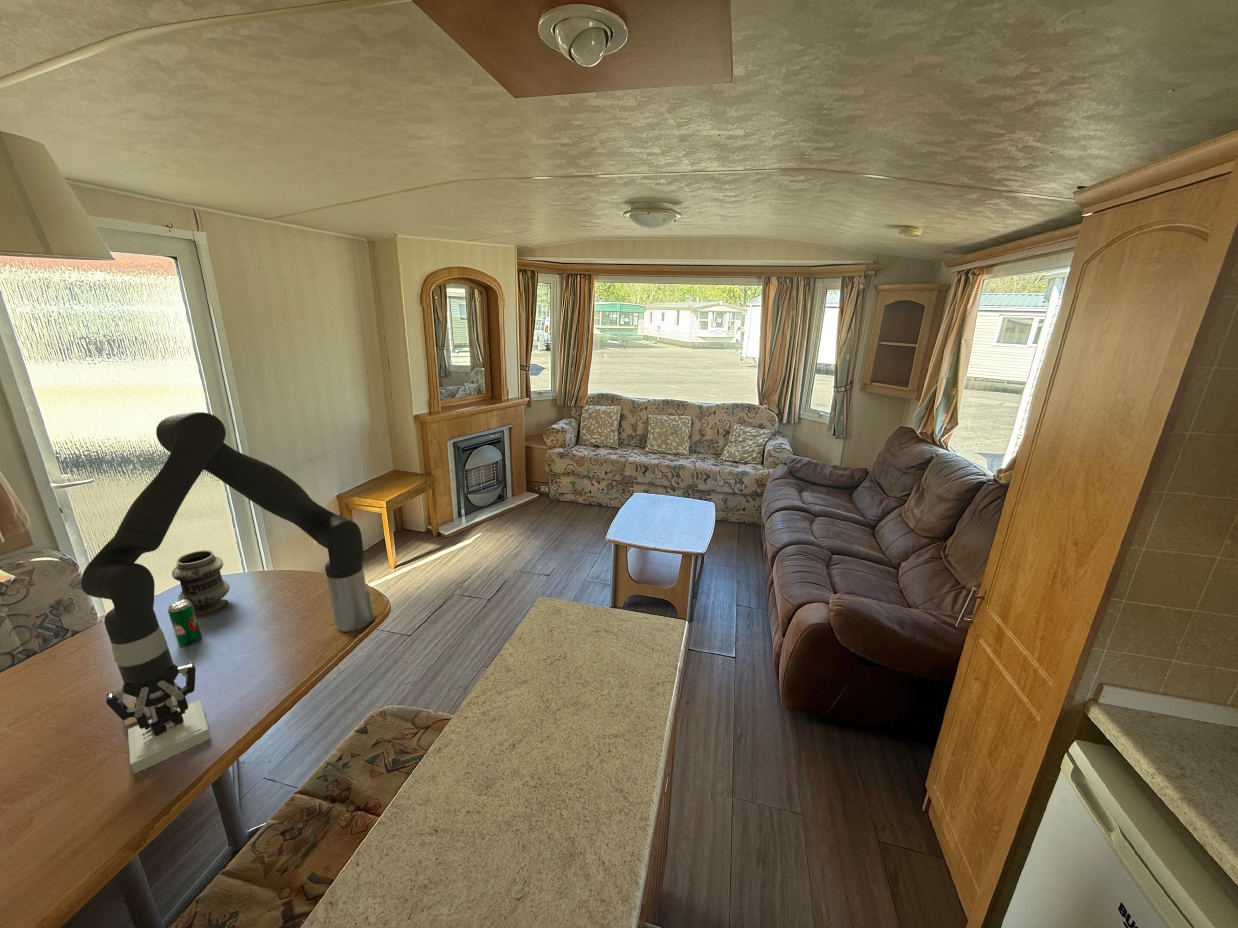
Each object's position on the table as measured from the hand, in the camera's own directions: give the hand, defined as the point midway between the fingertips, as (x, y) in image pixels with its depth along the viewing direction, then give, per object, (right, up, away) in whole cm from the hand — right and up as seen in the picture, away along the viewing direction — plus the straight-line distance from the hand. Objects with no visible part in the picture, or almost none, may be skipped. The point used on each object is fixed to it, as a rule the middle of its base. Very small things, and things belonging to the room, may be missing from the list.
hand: (165, 719), depth 104 cm
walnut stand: (-11, -3, +9) cm, 14 cm away
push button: (0, -3, 0) cm, 3 cm away
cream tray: (0, -5, +1) cm, 5 cm away
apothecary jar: (-30, +9, +47) cm, 57 cm away
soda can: (-23, +5, +32) cm, 40 cm away
